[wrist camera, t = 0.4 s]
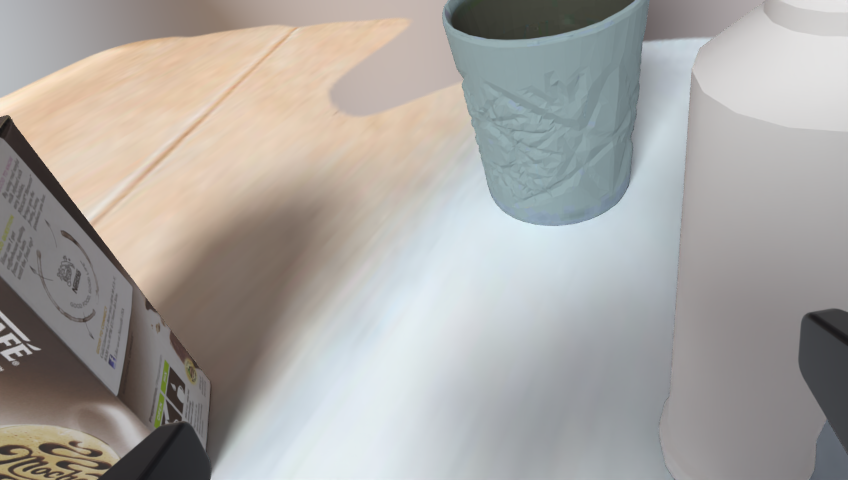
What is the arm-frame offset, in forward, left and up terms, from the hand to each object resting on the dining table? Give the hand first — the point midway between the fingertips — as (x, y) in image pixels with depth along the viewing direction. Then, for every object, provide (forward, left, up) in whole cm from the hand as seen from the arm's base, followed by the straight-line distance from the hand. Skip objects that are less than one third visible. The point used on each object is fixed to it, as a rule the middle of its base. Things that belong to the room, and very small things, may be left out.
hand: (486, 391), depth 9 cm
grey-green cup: (+24, -9, -16) cm, 31 cm away
